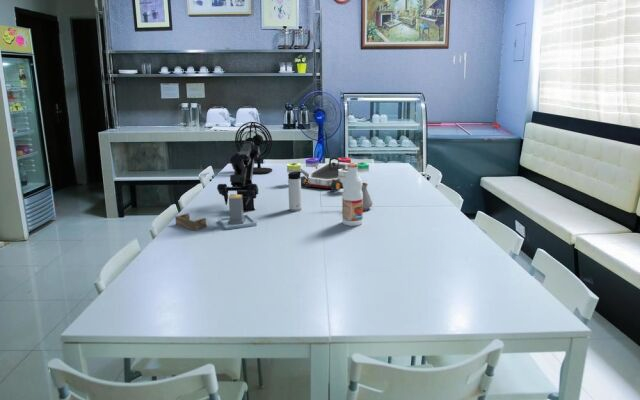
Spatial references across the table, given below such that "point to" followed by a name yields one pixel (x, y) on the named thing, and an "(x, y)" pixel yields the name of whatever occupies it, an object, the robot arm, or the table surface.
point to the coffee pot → (366, 197)
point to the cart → (326, 172)
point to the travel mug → (294, 191)
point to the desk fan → (257, 140)
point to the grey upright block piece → (236, 210)
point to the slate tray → (247, 223)
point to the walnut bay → (190, 222)
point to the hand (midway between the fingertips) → (235, 204)
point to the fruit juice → (352, 197)
